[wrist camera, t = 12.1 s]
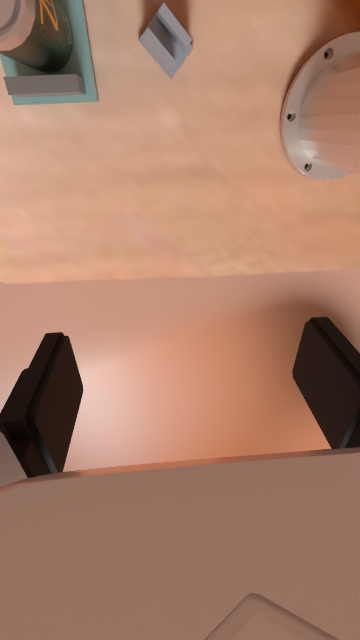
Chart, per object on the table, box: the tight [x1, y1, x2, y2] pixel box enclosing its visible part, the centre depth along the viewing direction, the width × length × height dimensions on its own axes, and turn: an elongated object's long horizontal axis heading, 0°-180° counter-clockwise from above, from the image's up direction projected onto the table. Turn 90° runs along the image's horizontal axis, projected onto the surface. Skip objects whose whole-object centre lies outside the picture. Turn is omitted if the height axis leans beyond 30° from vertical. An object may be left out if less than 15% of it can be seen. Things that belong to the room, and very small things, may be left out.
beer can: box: [0, 0, 73, 73], centre depth 21 cm, size 5×5×12 cm
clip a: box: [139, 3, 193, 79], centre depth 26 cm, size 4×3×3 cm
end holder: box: [0, 0, 99, 105], centre depth 25 cm, size 8×10×4 cm
